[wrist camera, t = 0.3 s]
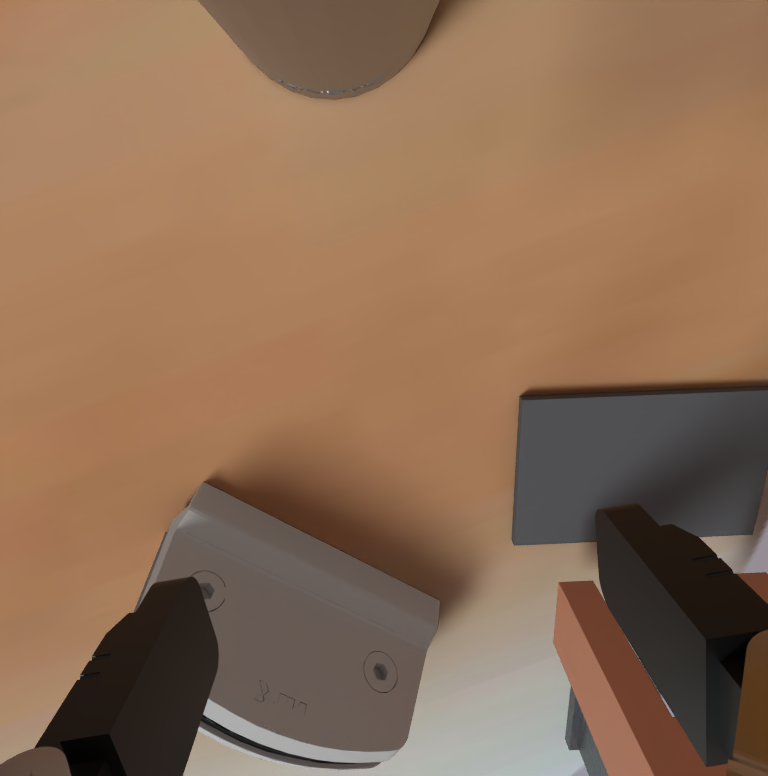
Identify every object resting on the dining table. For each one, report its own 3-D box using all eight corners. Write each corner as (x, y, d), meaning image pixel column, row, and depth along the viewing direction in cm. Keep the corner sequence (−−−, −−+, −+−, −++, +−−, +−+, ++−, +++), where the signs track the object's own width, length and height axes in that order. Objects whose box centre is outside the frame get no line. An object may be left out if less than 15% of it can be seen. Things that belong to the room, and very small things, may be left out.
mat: (519, 396, 30) (522, 400, 29) (777, 385, 30) (785, 389, 29) (511, 539, 33) (514, 545, 32) (746, 528, 33) (752, 534, 33)
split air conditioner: (445, 603, 34) (432, 793, 26) (404, 633, 37) (381, 814, 29) (196, 478, 31) (95, 653, 23) (171, 521, 33) (72, 691, 26)
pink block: (558, 582, 29) (658, 784, 19) (765, 572, 29) (969, 767, 20) (553, 642, 30) (643, 860, 21) (751, 632, 31) (934, 842, 21)
